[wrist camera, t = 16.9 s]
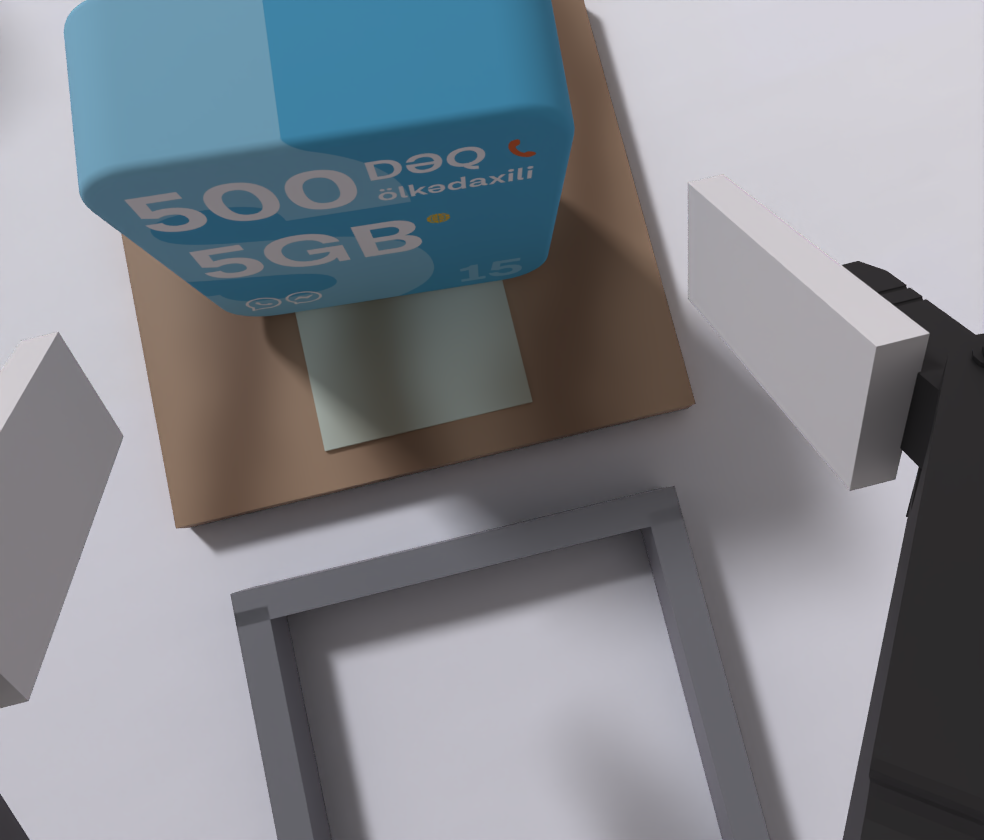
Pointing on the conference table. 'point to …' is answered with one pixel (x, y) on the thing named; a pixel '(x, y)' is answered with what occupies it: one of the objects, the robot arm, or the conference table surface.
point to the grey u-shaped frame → (649, 511)
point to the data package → (322, 142)
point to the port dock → (420, 350)
